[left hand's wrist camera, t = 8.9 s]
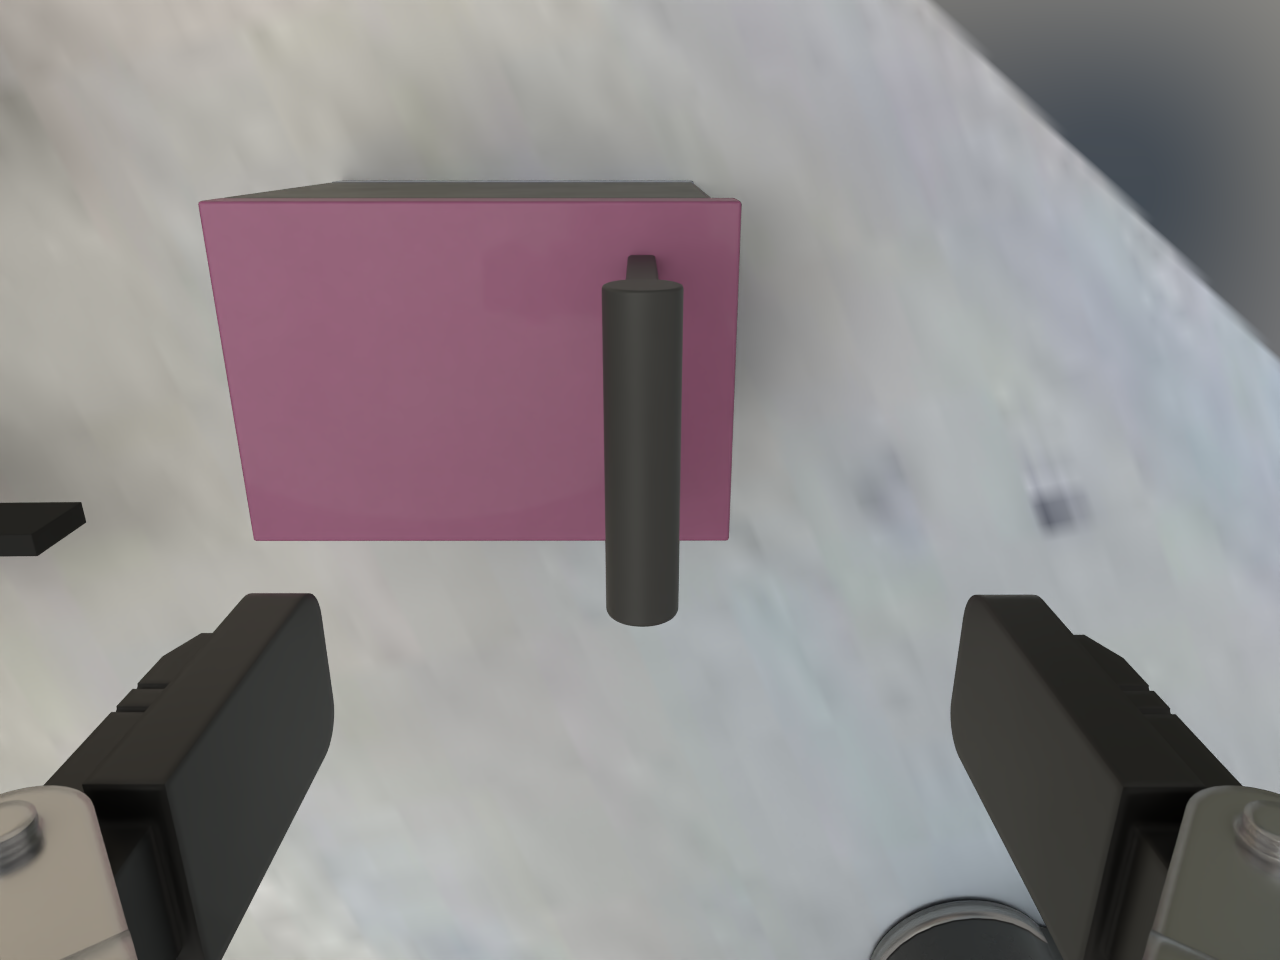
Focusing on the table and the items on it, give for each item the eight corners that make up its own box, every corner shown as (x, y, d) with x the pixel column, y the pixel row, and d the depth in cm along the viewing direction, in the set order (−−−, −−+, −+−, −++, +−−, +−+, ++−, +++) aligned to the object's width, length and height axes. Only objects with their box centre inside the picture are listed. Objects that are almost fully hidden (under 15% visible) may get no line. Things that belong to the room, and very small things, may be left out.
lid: (736, 198, 23) (783, 225, 16) (724, 523, 27) (758, 674, 19) (219, 198, 23) (19, 225, 16) (270, 523, 27) (125, 675, 19)
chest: (691, 180, 33) (713, 197, 23) (687, 422, 36) (704, 522, 27) (340, 180, 33) (219, 197, 23) (367, 422, 36) (271, 523, 27)
